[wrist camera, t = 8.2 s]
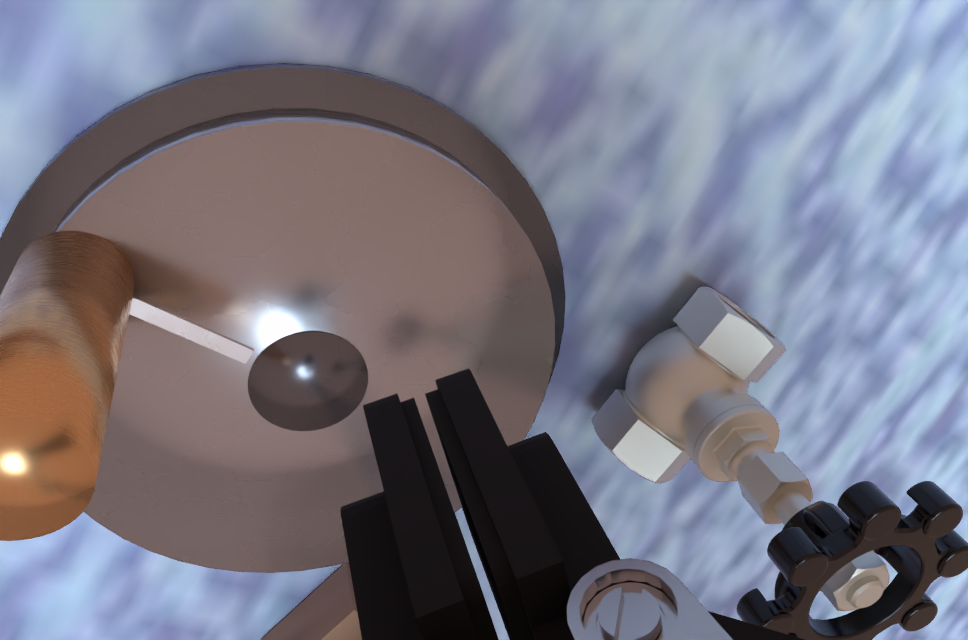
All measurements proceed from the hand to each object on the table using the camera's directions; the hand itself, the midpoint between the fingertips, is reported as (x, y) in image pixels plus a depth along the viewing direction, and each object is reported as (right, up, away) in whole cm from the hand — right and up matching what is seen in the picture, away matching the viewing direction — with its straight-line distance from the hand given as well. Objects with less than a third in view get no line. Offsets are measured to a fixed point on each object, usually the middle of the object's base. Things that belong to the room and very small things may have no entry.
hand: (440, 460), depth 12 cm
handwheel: (-5, +1, +13) cm, 14 cm away
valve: (+7, +1, +19) cm, 20 cm away
